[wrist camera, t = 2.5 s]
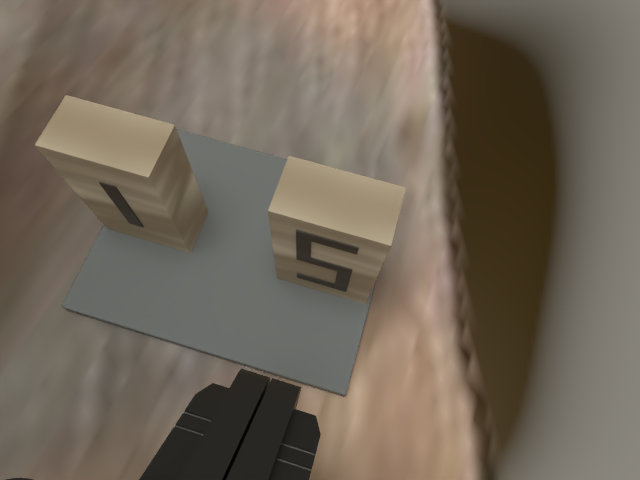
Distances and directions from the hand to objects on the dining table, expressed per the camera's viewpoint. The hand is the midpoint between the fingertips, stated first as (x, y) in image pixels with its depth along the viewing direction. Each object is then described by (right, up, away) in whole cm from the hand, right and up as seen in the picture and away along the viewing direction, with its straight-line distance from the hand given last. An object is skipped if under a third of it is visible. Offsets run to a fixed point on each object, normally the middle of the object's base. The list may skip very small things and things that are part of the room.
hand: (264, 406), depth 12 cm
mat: (-3, +3, +14) cm, 14 cm away
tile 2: (+2, +3, +13) cm, 13 cm away
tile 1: (-7, +5, +14) cm, 16 cm away
